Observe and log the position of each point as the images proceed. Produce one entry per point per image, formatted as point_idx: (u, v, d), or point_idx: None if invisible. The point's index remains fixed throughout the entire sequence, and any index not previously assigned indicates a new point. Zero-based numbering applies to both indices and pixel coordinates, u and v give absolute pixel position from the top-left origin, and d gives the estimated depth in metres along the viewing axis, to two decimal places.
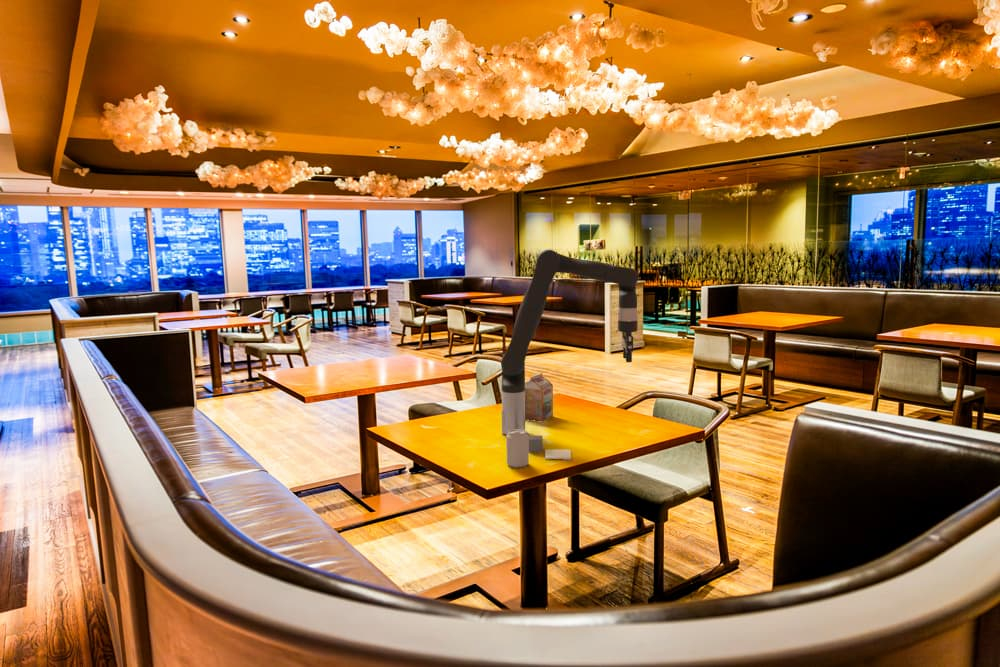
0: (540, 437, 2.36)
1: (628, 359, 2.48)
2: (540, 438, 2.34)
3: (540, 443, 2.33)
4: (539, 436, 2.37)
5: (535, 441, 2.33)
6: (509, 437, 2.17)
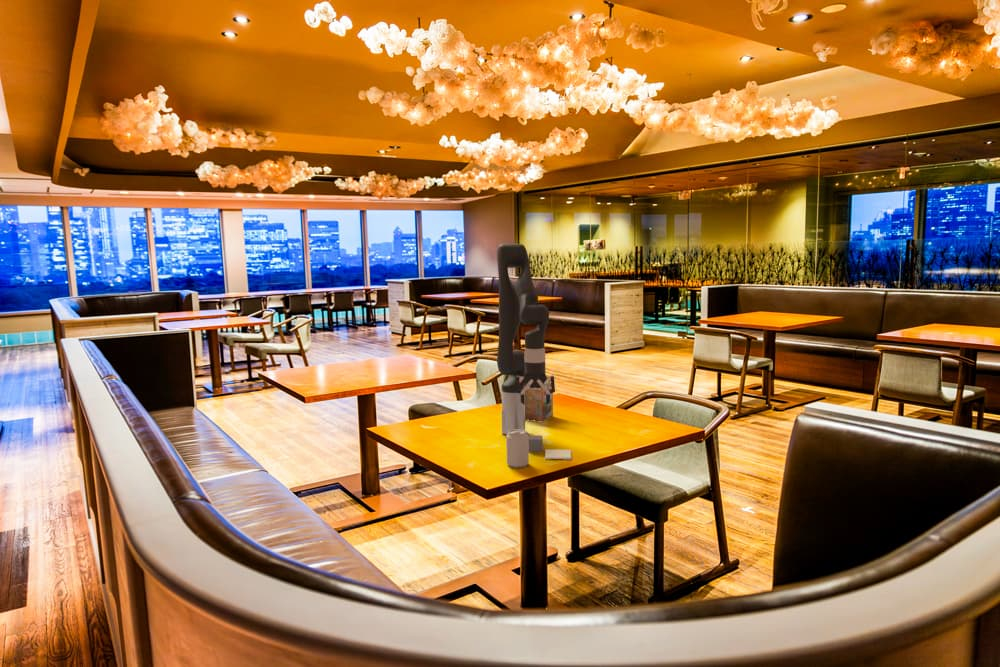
0: (540, 437, 2.36)
1: None
2: (540, 438, 2.34)
3: (540, 443, 2.33)
4: (539, 436, 2.37)
5: (535, 441, 2.33)
6: (509, 437, 2.17)
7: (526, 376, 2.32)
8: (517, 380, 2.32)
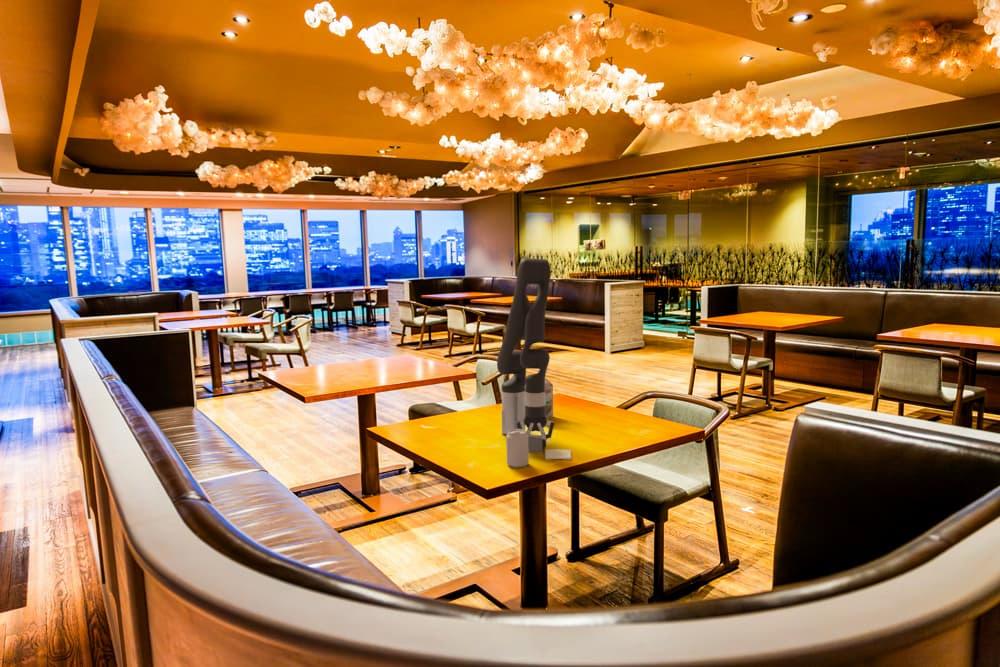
0: (540, 437, 2.36)
1: None
2: (540, 438, 2.34)
3: (540, 443, 2.33)
4: (539, 436, 2.37)
5: (535, 440, 2.33)
6: (509, 437, 2.17)
7: (526, 419, 2.34)
8: (518, 426, 2.34)
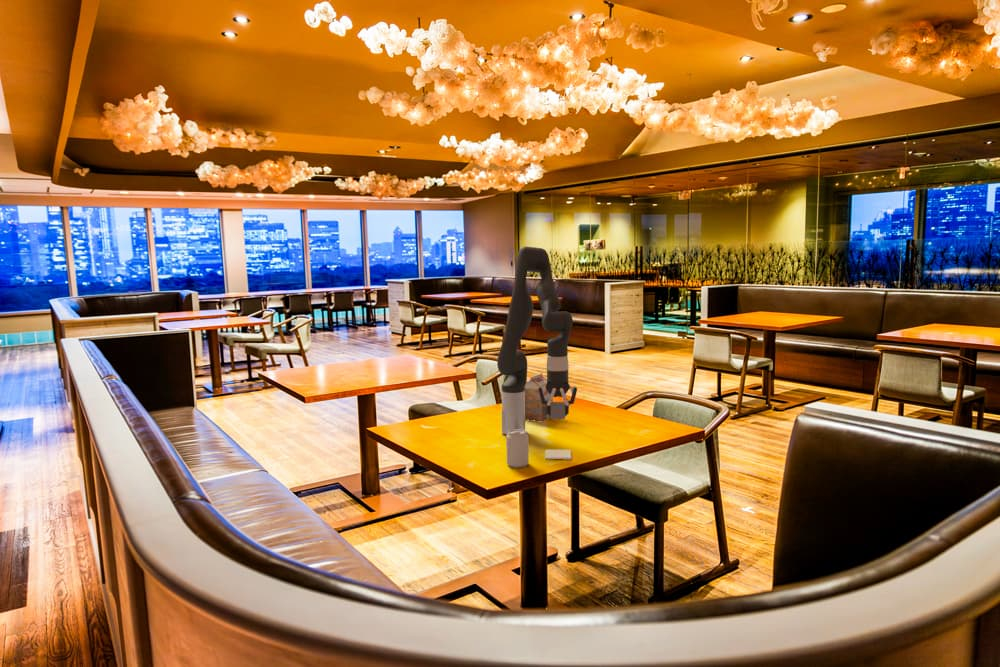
0: (562, 403, 2.27)
1: None
2: (562, 404, 2.26)
3: (563, 409, 2.25)
4: (561, 402, 2.29)
5: (557, 406, 2.25)
6: (509, 437, 2.17)
7: (548, 385, 2.26)
8: (540, 391, 2.26)
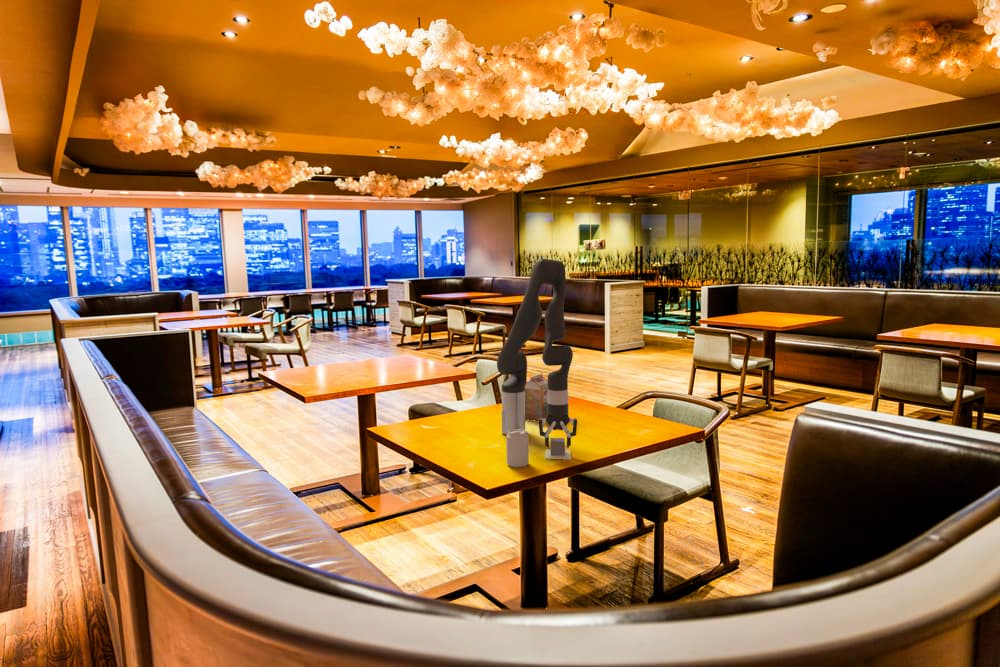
0: (562, 439, 2.29)
1: None
2: (562, 441, 2.28)
3: (562, 446, 2.27)
4: (561, 438, 2.30)
5: (557, 443, 2.27)
6: (509, 437, 2.17)
7: (548, 418, 2.27)
8: (540, 423, 2.28)
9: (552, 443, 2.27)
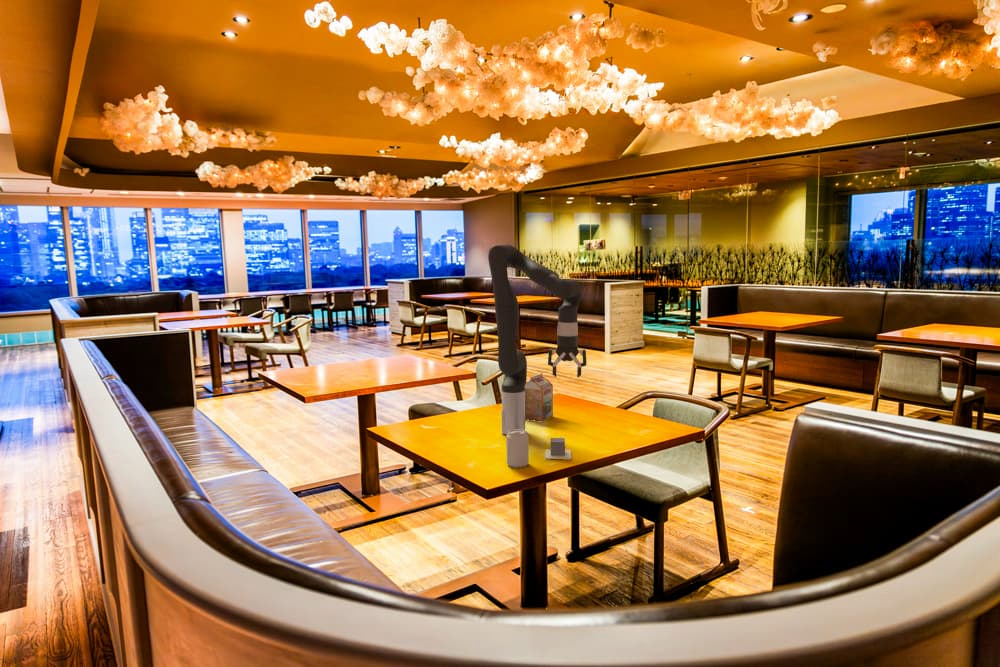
0: (562, 439, 2.29)
1: None
2: (562, 441, 2.28)
3: (562, 446, 2.27)
4: (561, 438, 2.30)
5: (557, 443, 2.27)
6: (509, 437, 2.17)
7: (558, 349, 2.39)
8: (550, 353, 2.39)
9: (552, 443, 2.27)
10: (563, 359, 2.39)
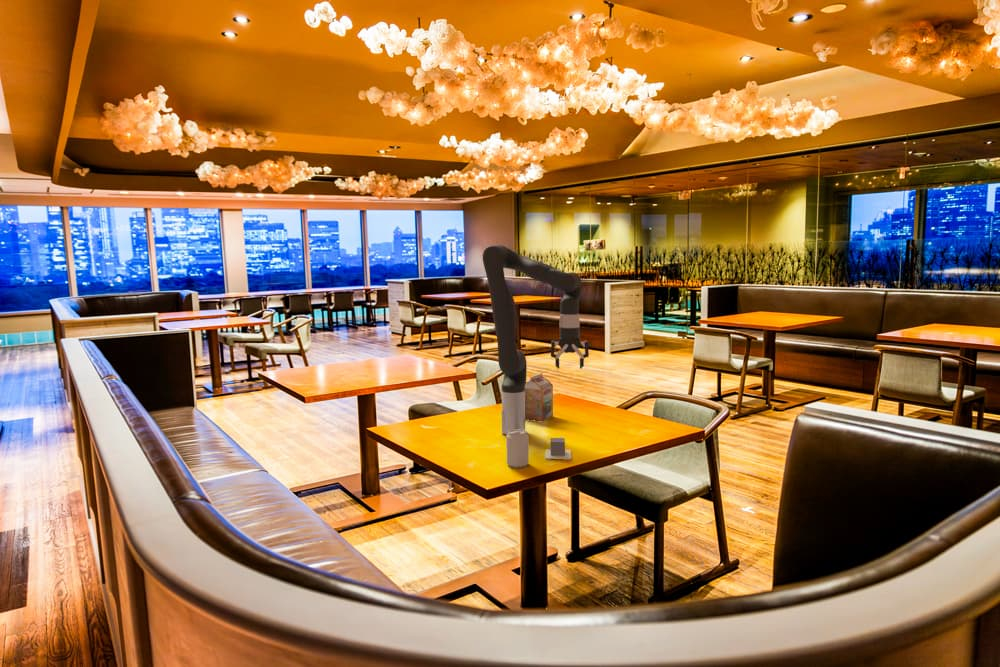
0: (562, 439, 2.29)
1: None
2: (562, 441, 2.28)
3: (562, 446, 2.27)
4: (561, 438, 2.30)
5: (557, 443, 2.27)
6: (509, 437, 2.17)
7: (561, 341, 2.42)
8: (552, 345, 2.43)
9: (552, 443, 2.27)
10: (566, 351, 2.43)
